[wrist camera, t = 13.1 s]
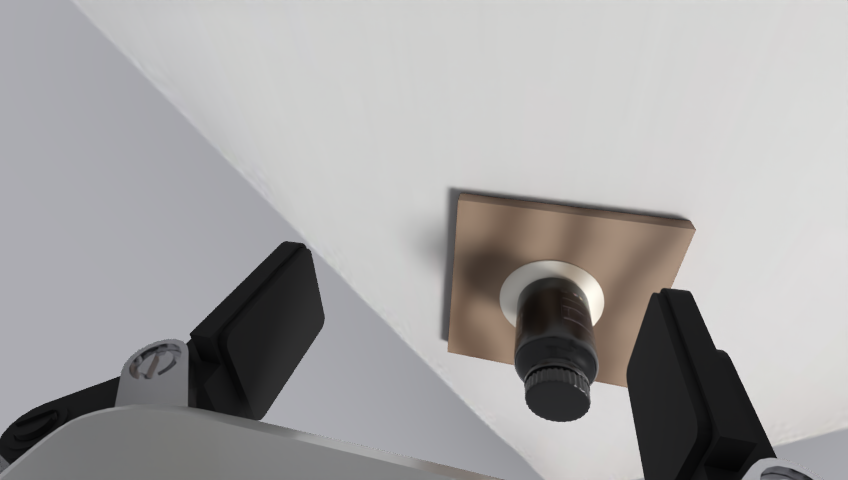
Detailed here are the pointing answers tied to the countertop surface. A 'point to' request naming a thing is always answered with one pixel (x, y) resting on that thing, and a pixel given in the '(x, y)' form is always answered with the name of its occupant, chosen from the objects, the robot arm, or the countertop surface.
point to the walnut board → (558, 272)
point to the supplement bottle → (555, 349)
